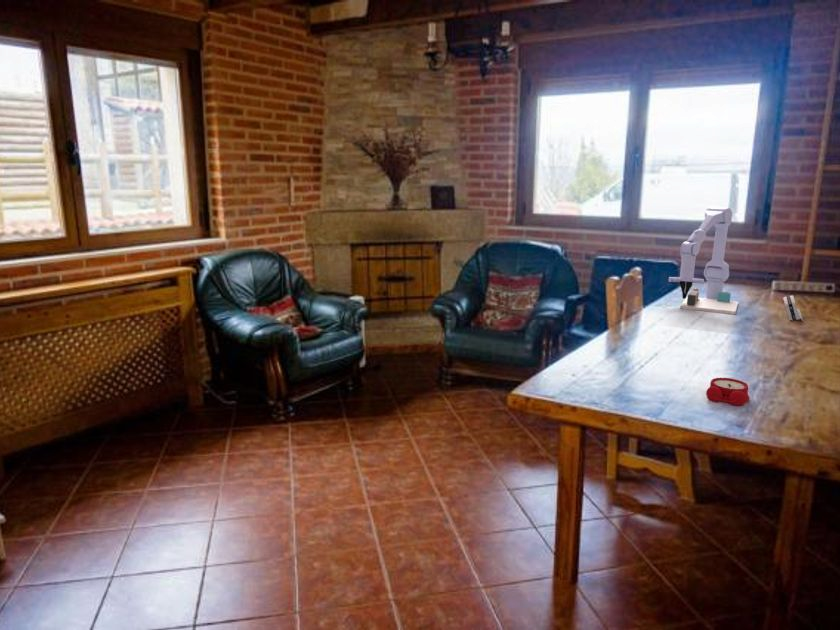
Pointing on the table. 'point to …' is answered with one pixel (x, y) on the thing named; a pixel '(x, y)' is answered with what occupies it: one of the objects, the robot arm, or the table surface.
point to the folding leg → (693, 297)
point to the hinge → (792, 311)
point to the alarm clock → (728, 391)
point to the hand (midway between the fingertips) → (684, 298)
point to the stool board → (714, 304)
